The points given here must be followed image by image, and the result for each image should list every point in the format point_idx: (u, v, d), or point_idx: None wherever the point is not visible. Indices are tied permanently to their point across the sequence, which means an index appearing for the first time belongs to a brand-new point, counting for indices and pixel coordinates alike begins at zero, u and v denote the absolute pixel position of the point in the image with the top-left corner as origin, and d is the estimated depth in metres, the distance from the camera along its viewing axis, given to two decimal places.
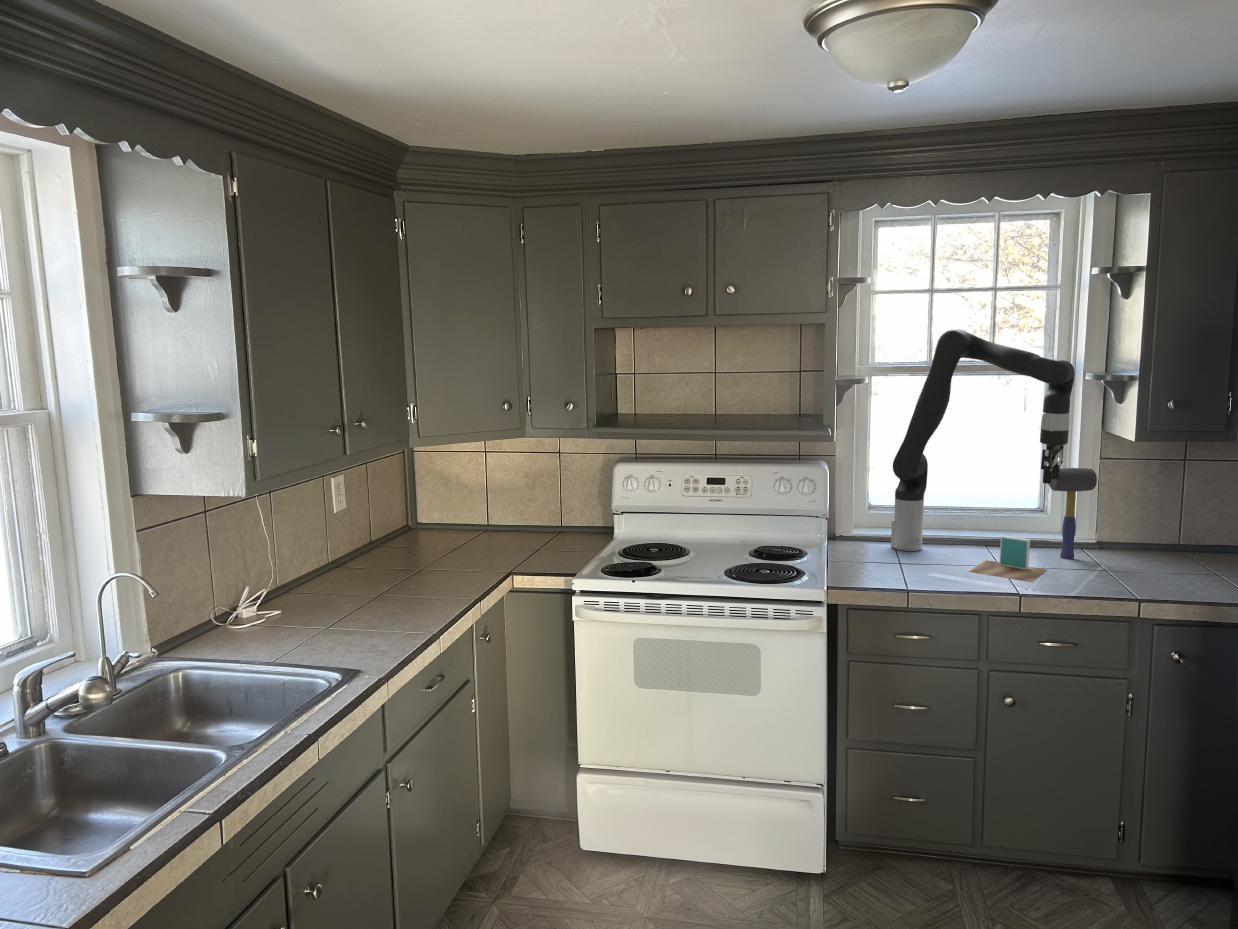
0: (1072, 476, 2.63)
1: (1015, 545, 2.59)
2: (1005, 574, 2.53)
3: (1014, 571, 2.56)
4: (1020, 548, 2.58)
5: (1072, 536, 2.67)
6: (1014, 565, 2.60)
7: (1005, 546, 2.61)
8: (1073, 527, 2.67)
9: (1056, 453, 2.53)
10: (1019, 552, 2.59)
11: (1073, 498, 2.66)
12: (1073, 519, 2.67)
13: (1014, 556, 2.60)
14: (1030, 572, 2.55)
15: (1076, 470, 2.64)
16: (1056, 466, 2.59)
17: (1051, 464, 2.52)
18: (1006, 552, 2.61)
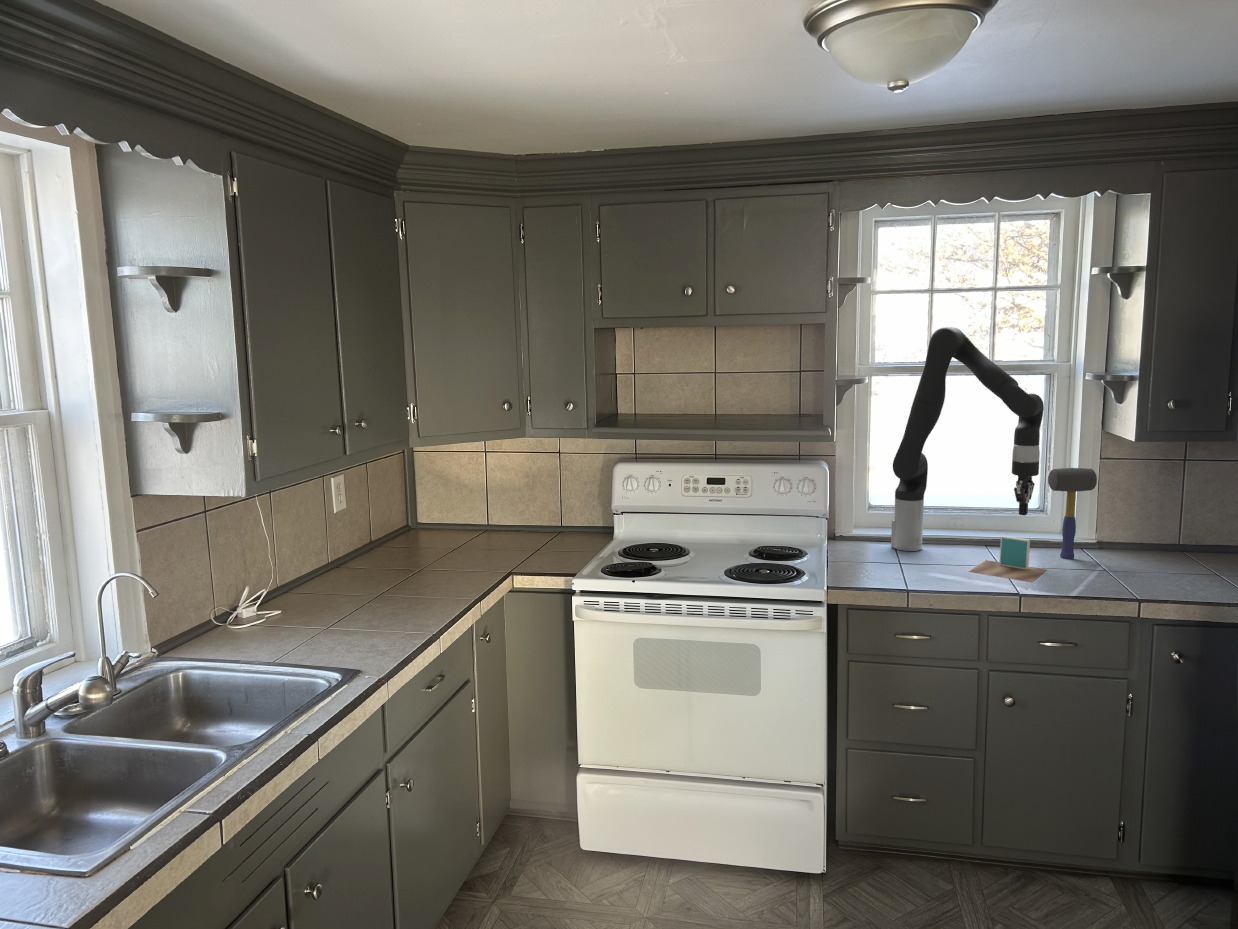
0: (1072, 476, 2.63)
1: (1015, 545, 2.59)
2: (1005, 574, 2.53)
3: (1014, 571, 2.56)
4: (1020, 548, 2.58)
5: (1072, 536, 2.67)
6: (1014, 565, 2.60)
7: (1005, 546, 2.61)
8: (1073, 527, 2.67)
9: (1027, 486, 2.60)
10: (1019, 552, 2.59)
11: (1073, 498, 2.66)
12: (1073, 519, 2.67)
13: (1014, 556, 2.60)
14: (1030, 572, 2.55)
15: (1076, 470, 2.64)
16: None
17: None
18: (1006, 552, 2.61)
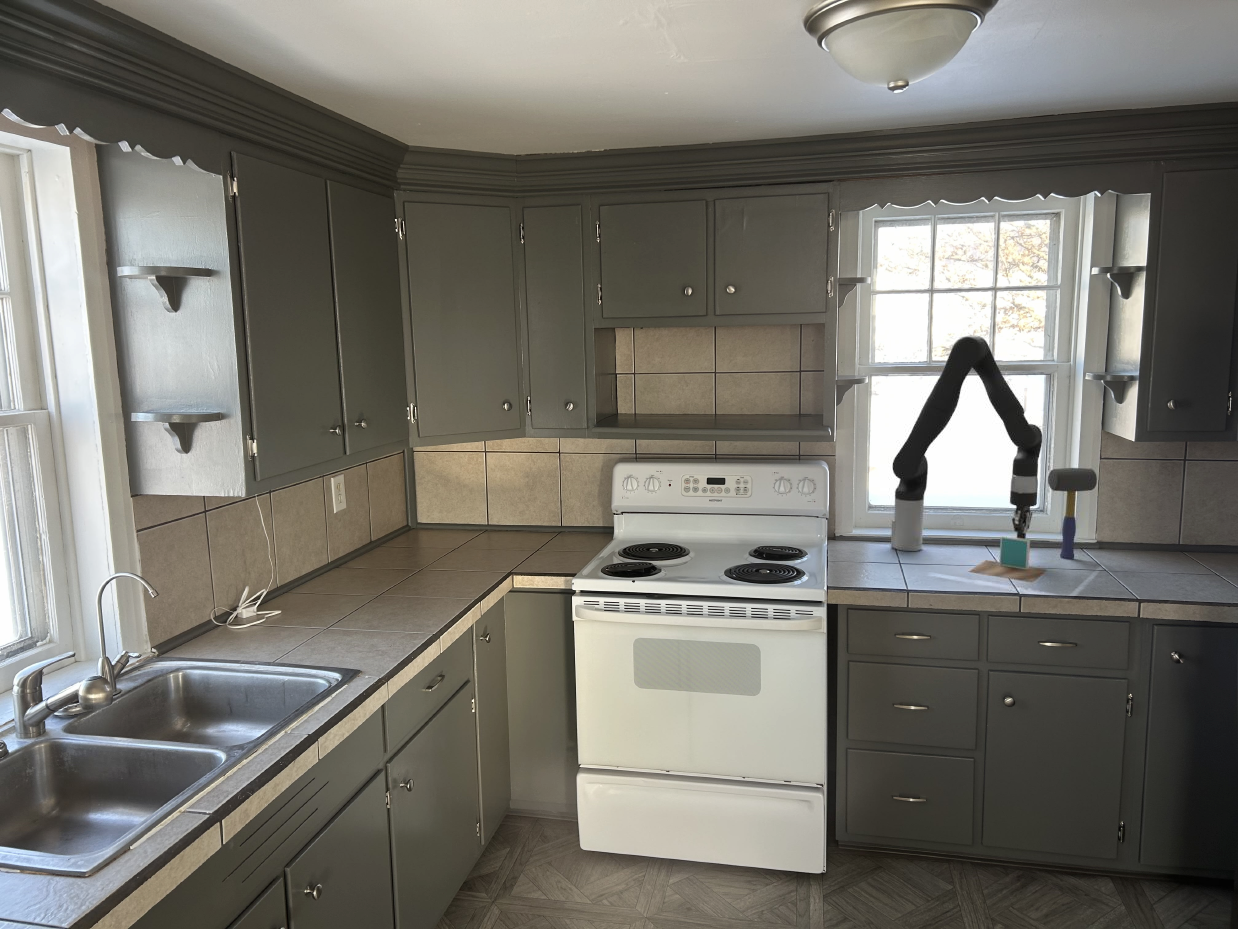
0: (1072, 476, 2.63)
1: (1015, 545, 2.59)
2: (1005, 574, 2.53)
3: (1014, 571, 2.56)
4: (1020, 548, 2.58)
5: (1072, 536, 2.67)
6: (1014, 565, 2.60)
7: (1005, 546, 2.61)
8: (1073, 527, 2.67)
9: (1025, 516, 2.61)
10: (1019, 552, 2.59)
11: (1073, 498, 2.66)
12: (1073, 519, 2.67)
13: (1014, 556, 2.60)
14: (1030, 572, 2.55)
15: (1076, 470, 2.64)
16: None
17: None
18: (1006, 552, 2.61)
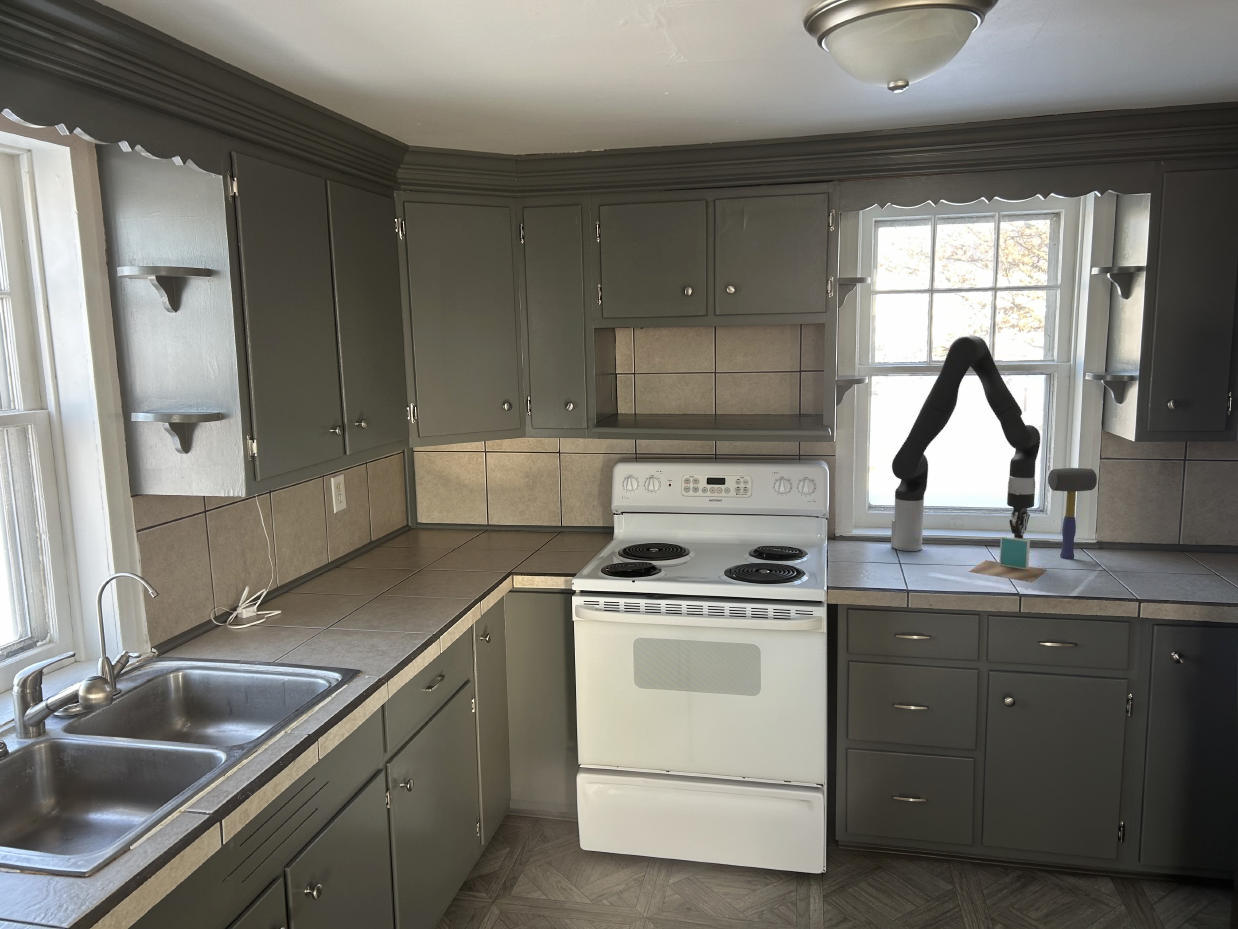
0: (1072, 476, 2.63)
1: (1015, 545, 2.59)
2: (1005, 574, 2.53)
3: (1014, 571, 2.56)
4: (1020, 548, 2.58)
5: (1072, 536, 2.67)
6: (1014, 565, 2.60)
7: (1005, 546, 2.61)
8: (1073, 527, 2.67)
9: (1023, 517, 2.59)
10: (1019, 552, 2.59)
11: (1073, 498, 2.66)
12: (1073, 519, 2.67)
13: (1014, 556, 2.60)
14: (1030, 572, 2.55)
15: (1076, 470, 2.64)
16: None
17: None
18: (1006, 552, 2.61)
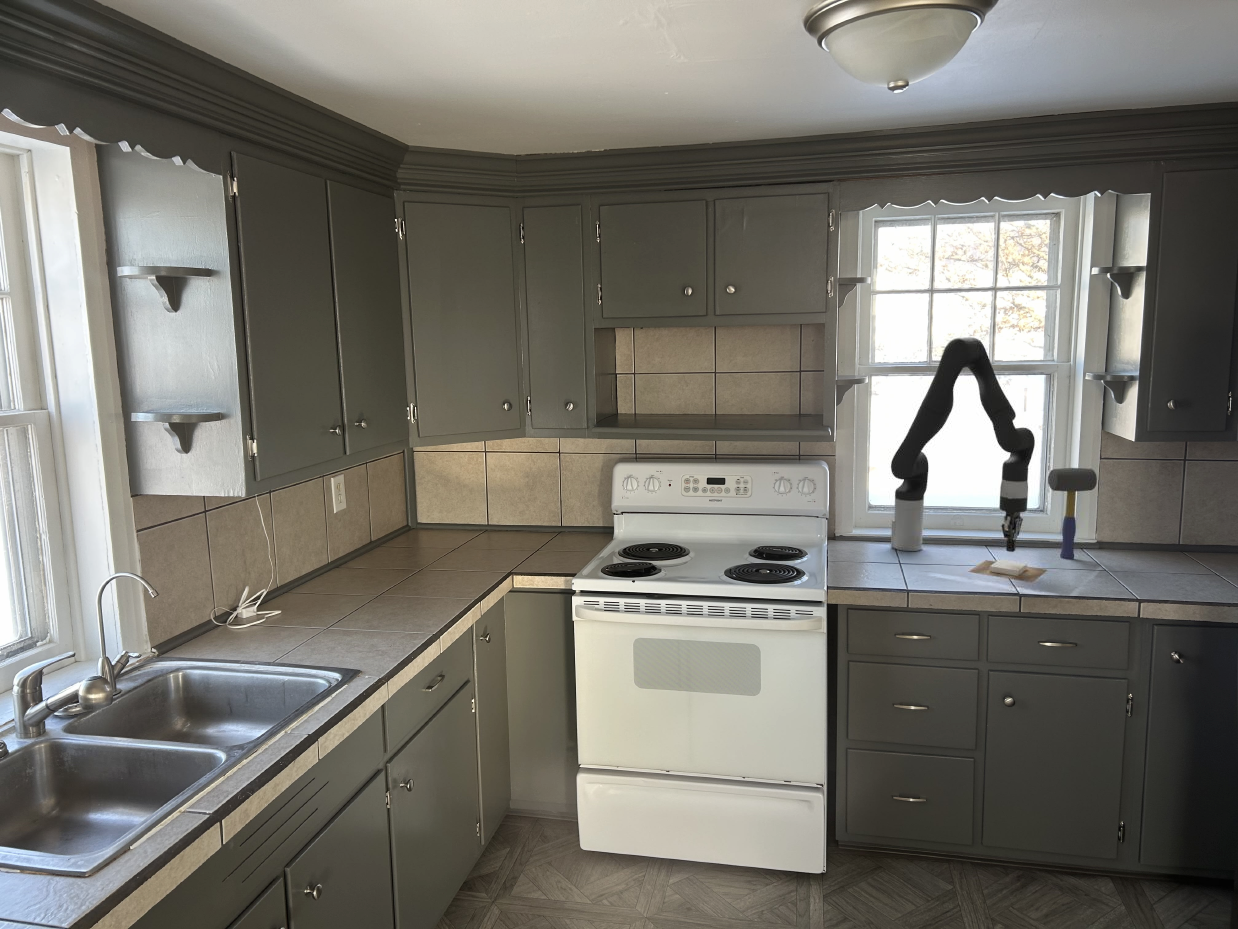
0: (1072, 476, 2.63)
1: None
2: (1005, 574, 2.53)
3: None
4: None
5: (1072, 536, 2.67)
6: None
7: None
8: (1073, 527, 2.67)
9: (1015, 522, 2.53)
10: None
11: (1073, 498, 2.66)
12: (1073, 519, 2.67)
13: None
14: (1030, 572, 2.55)
15: (1076, 470, 2.64)
16: None
17: (1013, 534, 2.54)
18: None
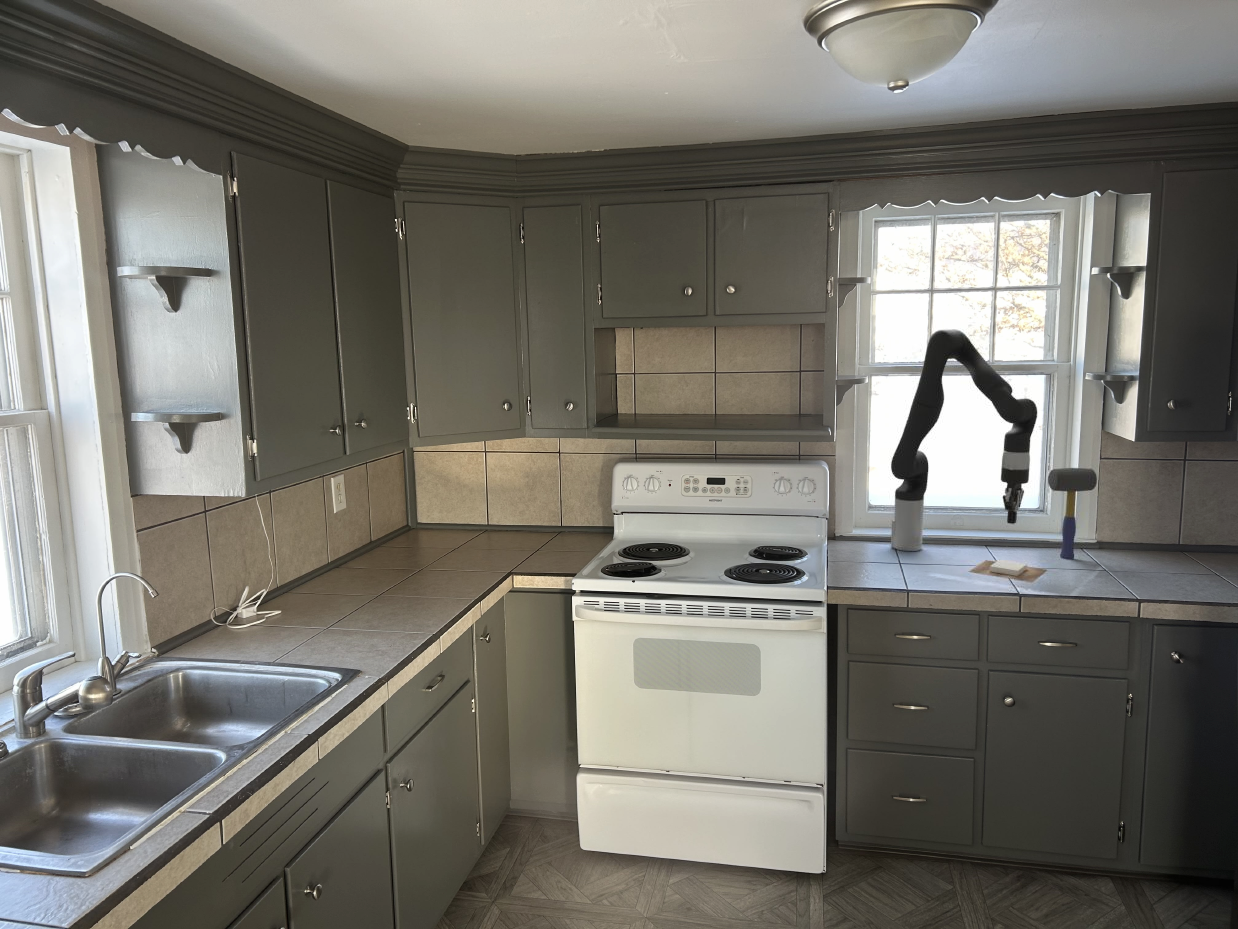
0: (1072, 476, 2.63)
1: None
2: (1005, 574, 2.53)
3: None
4: None
5: (1072, 536, 2.67)
6: None
7: None
8: (1073, 527, 2.67)
9: (1017, 493, 2.52)
10: None
11: (1073, 498, 2.66)
12: (1073, 519, 2.67)
13: None
14: (1030, 572, 2.55)
15: (1076, 470, 2.64)
16: None
17: None
18: None
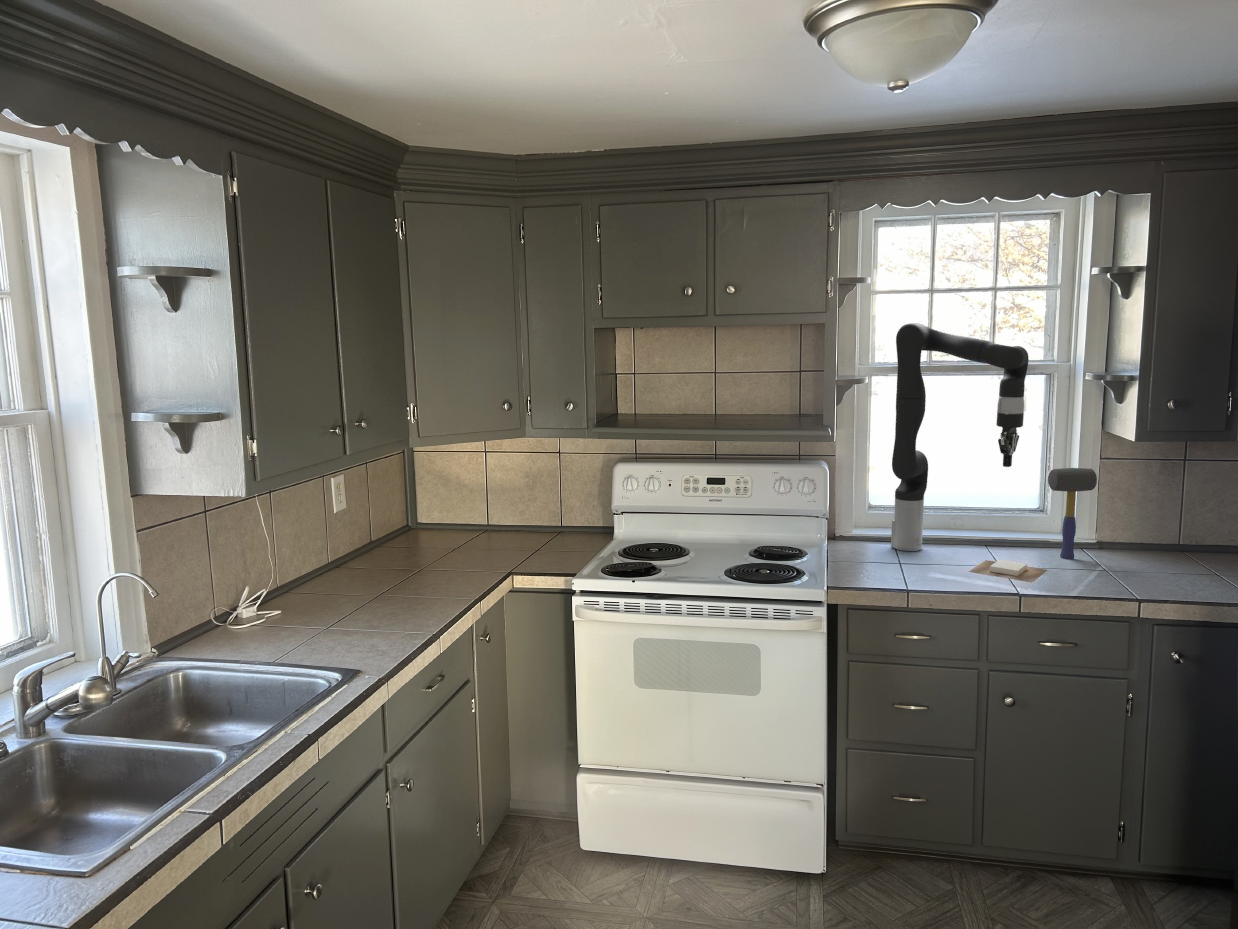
0: (1072, 476, 2.63)
1: None
2: (1005, 574, 2.53)
3: None
4: None
5: (1072, 536, 2.67)
6: None
7: None
8: (1073, 527, 2.67)
9: (1012, 437, 2.62)
10: None
11: (1073, 498, 2.66)
12: (1073, 519, 2.67)
13: None
14: (1030, 572, 2.55)
15: (1076, 470, 2.64)
16: None
17: None
18: None
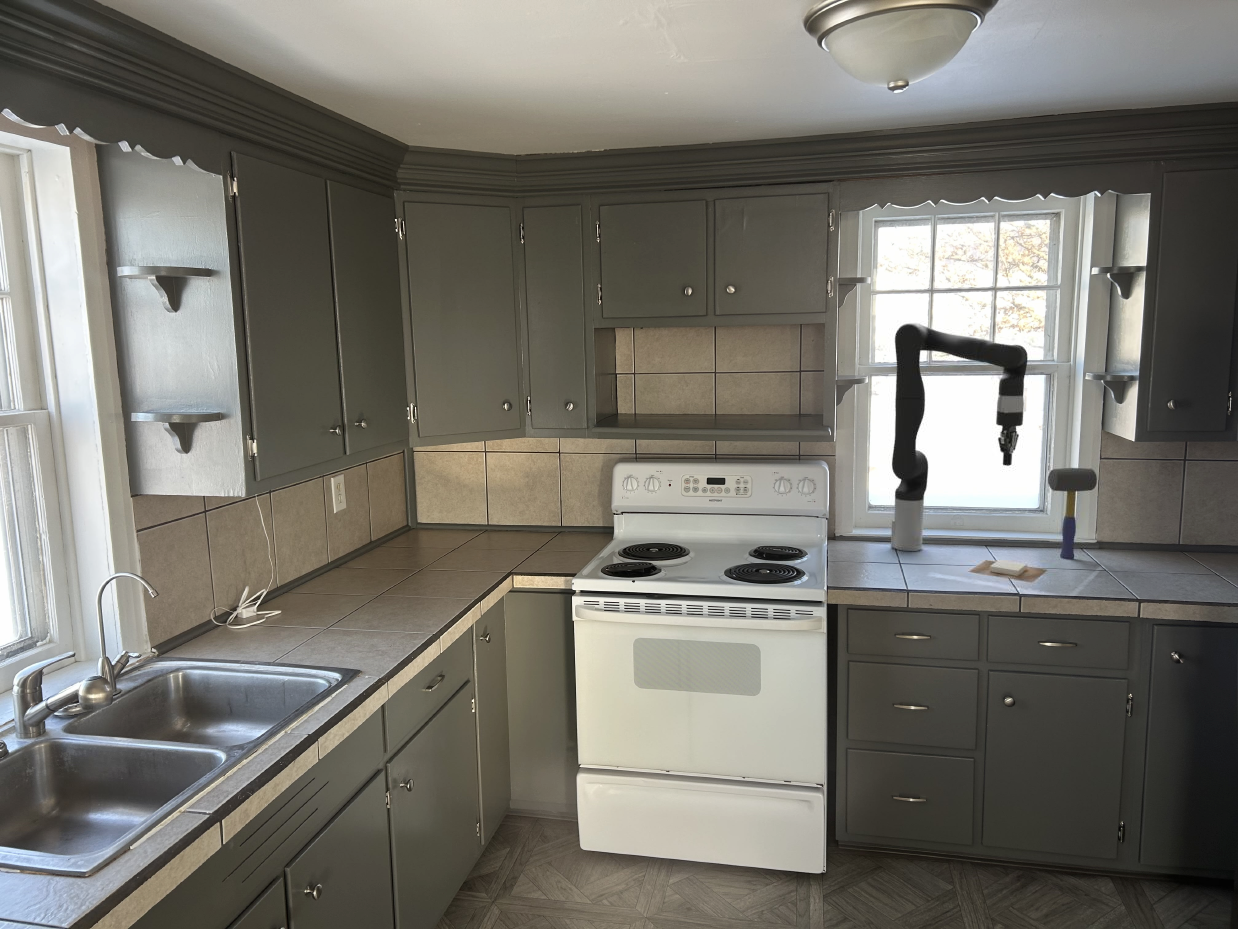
0: (1072, 476, 2.63)
1: None
2: (1005, 574, 2.53)
3: None
4: None
5: (1072, 536, 2.67)
6: None
7: None
8: (1073, 527, 2.67)
9: (1011, 436, 2.63)
10: None
11: (1073, 498, 2.66)
12: (1073, 519, 2.67)
13: None
14: (1030, 572, 2.55)
15: (1076, 470, 2.64)
16: None
17: None
18: None
